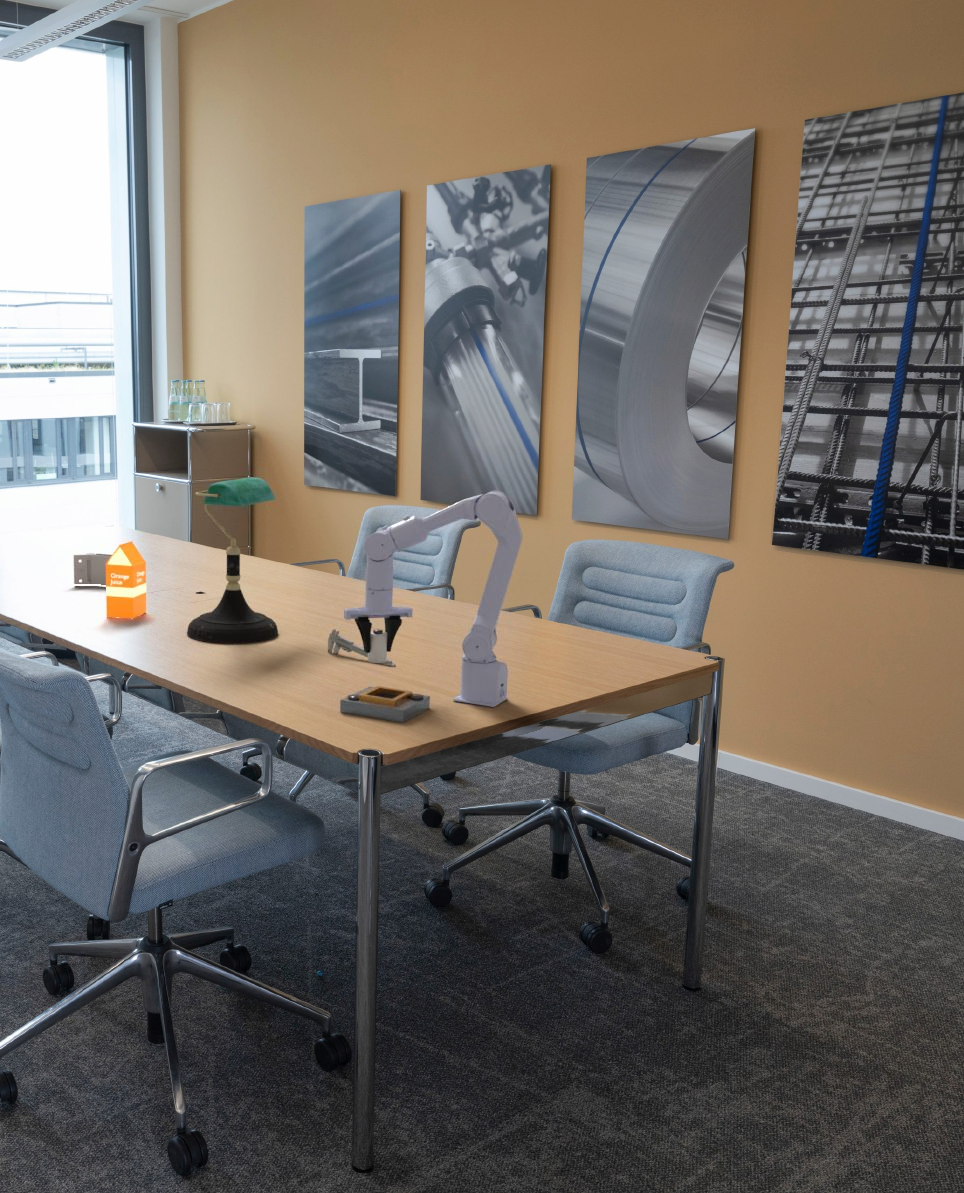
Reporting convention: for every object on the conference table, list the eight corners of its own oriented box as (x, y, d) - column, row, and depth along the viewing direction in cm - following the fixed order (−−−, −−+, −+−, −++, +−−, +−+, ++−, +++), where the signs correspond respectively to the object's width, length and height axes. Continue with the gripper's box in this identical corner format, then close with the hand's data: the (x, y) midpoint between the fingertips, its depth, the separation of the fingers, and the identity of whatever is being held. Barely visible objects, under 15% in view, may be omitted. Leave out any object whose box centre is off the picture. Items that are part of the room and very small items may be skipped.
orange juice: (146, 613, 303) (146, 541, 299) (133, 619, 294) (132, 545, 291) (119, 611, 304) (118, 540, 300) (105, 617, 295) (104, 544, 292)
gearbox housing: (429, 707, 223) (430, 691, 223) (402, 722, 212) (403, 705, 212) (369, 698, 229) (369, 681, 228) (340, 711, 218) (340, 695, 217)
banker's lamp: (254, 648, 268) (255, 485, 260) (167, 640, 272) (166, 479, 265) (293, 627, 293) (295, 478, 286) (213, 620, 298) (214, 473, 290)
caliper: (327, 653, 267) (328, 628, 266) (330, 653, 268) (330, 628, 267) (393, 668, 256) (394, 641, 255) (396, 667, 257) (397, 641, 256)
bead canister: (389, 660, 233) (390, 629, 232) (381, 663, 230) (381, 633, 229) (373, 657, 235) (374, 627, 234) (364, 661, 231) (365, 630, 230)
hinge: (73, 587, 336) (72, 555, 335) (78, 584, 342) (77, 552, 340) (119, 588, 338) (118, 556, 336) (123, 585, 343) (123, 554, 341)
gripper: (405, 584, 236) (403, 645, 238) (340, 585, 230) (339, 648, 233) (416, 589, 230) (414, 652, 232) (349, 591, 224) (348, 656, 226)
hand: (377, 651), depth 232 cm, fingers closed on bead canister, 4 cm apart
